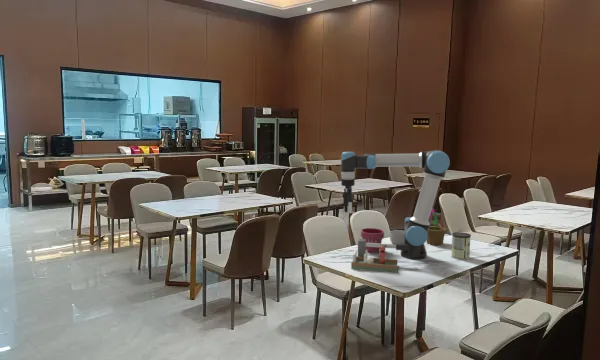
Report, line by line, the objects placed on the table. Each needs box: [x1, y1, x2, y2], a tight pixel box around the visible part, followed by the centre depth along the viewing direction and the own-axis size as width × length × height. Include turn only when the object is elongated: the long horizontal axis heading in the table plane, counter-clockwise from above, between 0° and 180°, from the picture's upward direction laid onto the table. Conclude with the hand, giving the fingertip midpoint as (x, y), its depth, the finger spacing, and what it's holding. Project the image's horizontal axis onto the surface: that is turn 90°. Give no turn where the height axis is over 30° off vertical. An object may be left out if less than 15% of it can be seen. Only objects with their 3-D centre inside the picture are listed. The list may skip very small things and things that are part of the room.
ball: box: [366, 256, 374, 264], centre depth 245 cm, size 4×4×4 cm
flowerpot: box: [426, 202, 448, 247], centre depth 295 cm, size 14×14×30 cm
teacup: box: [389, 229, 405, 245], centre depth 297 cm, size 14×11×8 cm
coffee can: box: [450, 231, 472, 261], centre depth 264 cm, size 10×10×14 cm
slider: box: [357, 242, 407, 264], centre depth 247 cm, size 28×13×10 cm, turn 76°
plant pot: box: [360, 227, 385, 254], centre depth 277 cm, size 14×14×13 cm
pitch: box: [350, 238, 398, 273], centre depth 246 cm, size 24×17×12 cm
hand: (347, 215), depth 259 cm, fingers open, 13 cm apart
